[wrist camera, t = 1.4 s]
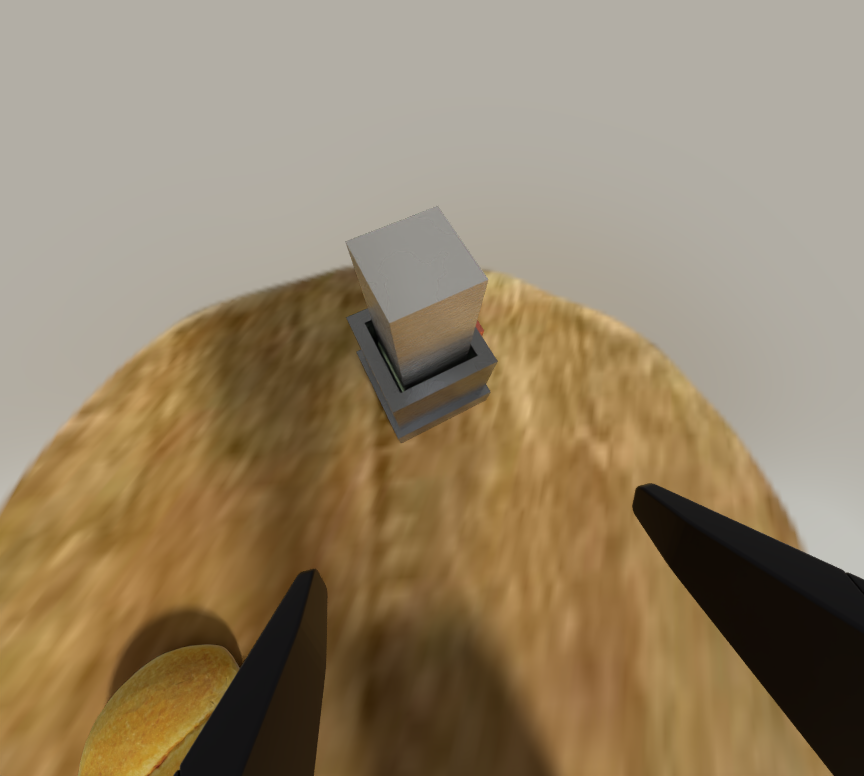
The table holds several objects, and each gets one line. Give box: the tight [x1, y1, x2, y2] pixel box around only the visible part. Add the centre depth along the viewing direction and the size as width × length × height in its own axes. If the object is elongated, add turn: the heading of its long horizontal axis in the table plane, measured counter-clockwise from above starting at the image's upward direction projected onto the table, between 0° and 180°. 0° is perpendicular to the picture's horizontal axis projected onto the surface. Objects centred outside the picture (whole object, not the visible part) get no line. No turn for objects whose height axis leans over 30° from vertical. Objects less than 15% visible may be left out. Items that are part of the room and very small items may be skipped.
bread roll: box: [78, 644, 240, 776], centre depth 16 cm, size 8×9×4 cm
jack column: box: [346, 206, 488, 392], centre depth 17 cm, size 4×4×11 cm
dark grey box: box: [346, 308, 498, 443], centre depth 21 cm, size 7×7×7 cm
